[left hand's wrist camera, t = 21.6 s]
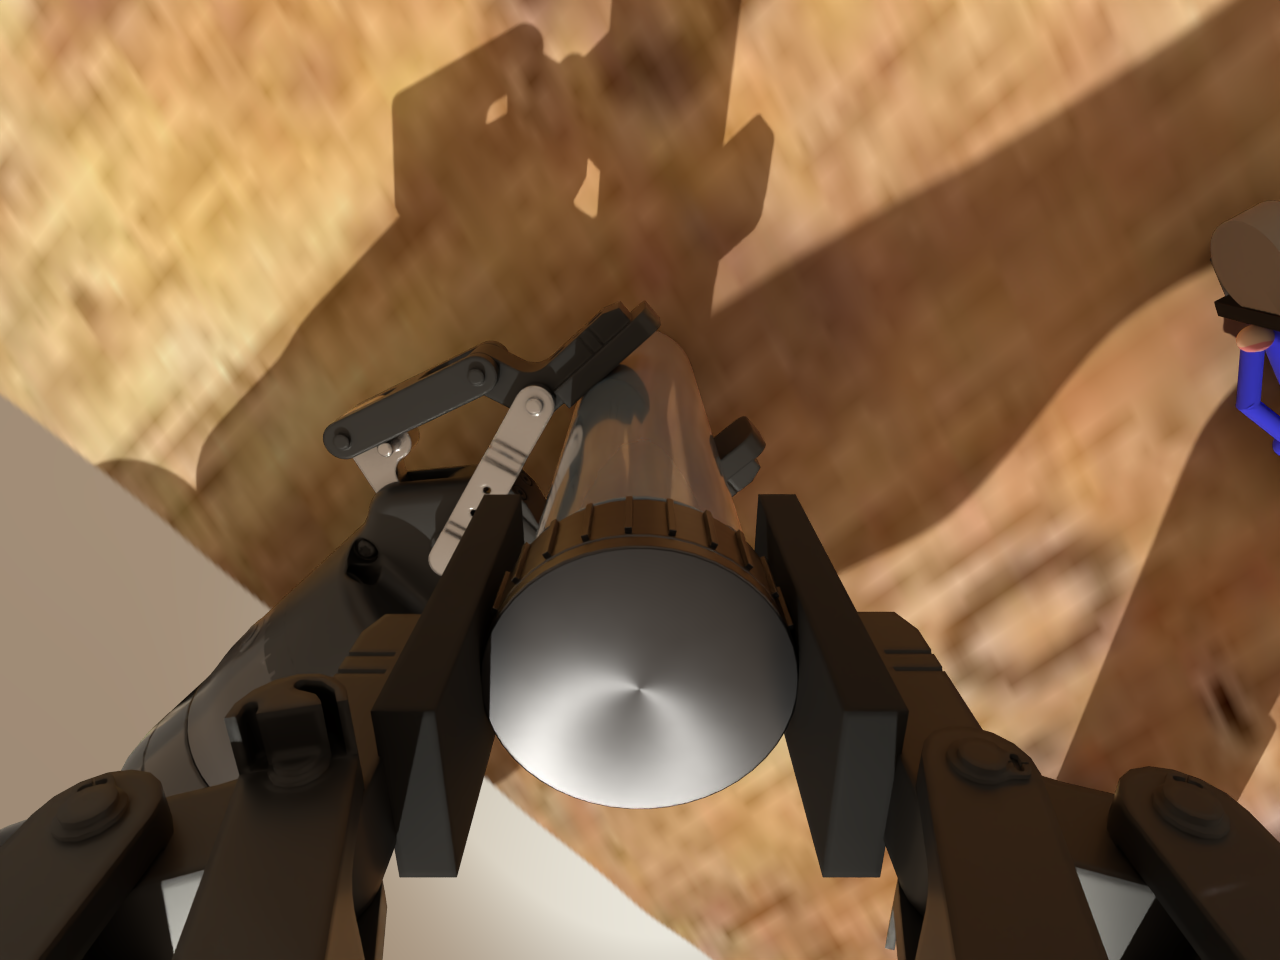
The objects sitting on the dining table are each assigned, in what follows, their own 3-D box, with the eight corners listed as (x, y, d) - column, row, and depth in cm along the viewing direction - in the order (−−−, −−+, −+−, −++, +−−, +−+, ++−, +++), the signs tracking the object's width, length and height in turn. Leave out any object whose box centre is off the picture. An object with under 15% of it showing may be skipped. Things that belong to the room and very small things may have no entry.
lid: (803, 504, 11) (829, 552, 10) (763, 746, 13) (779, 820, 12) (494, 484, 11) (470, 532, 10) (497, 731, 13) (477, 806, 12)
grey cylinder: (603, 313, 28) (544, 500, 10) (708, 347, 28) (816, 579, 11) (573, 415, 29) (478, 724, 12) (673, 446, 30) (719, 784, 13)
